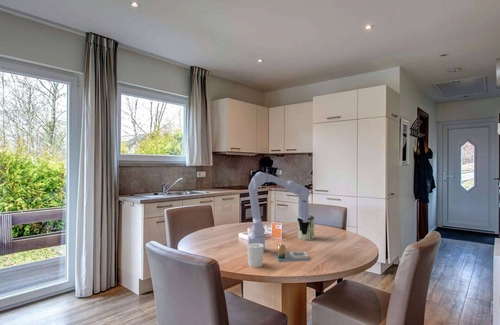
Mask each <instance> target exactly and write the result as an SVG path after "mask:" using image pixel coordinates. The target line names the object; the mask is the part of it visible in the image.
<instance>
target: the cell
mask: <svg viewBox="0 0 500 325" xmlns="http://www.w3.org/2000/svg"><path fill="white" fill-rule="evenodd" d="M276 247H277V249H276V250H277V252H276V253H277V258H279V259H284V258H285V253H286V245H285V244H283V243H282V244H281V243H280V244H277V246H276Z"/></svg>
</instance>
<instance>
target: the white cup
mask: <svg viewBox="0 0 500 325" xmlns="http://www.w3.org/2000/svg"><path fill="white" fill-rule="evenodd" d="M246 249H247V250H246V251H247V262H248V266H249V267H251V268H259V267H262V266H264V252H265V251H264V245H263V244H260V243H251V244H248V243H247V245H246Z"/></svg>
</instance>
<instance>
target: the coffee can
mask: <svg viewBox="0 0 500 325" xmlns="http://www.w3.org/2000/svg"><path fill="white" fill-rule="evenodd" d="M310 216H311V218H308V219H307V222H310V224H309V226H308V229H307V234H306V235H303V234H302V231H300V226H299V222H298V221H297V239H298V240H301V241H313V240H314V239H315V222H314V220H315V216H313V215H310Z"/></svg>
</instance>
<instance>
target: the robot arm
mask: <svg viewBox="0 0 500 325" xmlns="http://www.w3.org/2000/svg"><path fill="white" fill-rule="evenodd" d="M265 183H274V184H277V185H279V186H281V187H284V189H285V190H286V191H287V192H290V193H291V194H294V195H295V196H296V195H297V196H298V199H297V219H296V220H297V223H298V222H299V226H300V231H302V234H303V235H306V234H307V229H308V226H309V224H310V222H307V219H308V218H311V216H312V215H310V214H309V196H310V194H311V192H310V190H309V189H308V187H305V186H303V185H302V184H298V183H296V182H295V181H294V180H288V181H286V180H284V179H281V178H280V177H278V176H275V175H273V174H271V173H270V174H269V173H267V172H262V171H258V172H256V173H255V174H254V175H253V176H252V178H251V180H250V183H249V184H248V193H249V194H248V195H249V202H250V209H251V214H252V226H251V227H252V233H251V235H248V236H247V245H248V244H251V243H260V244H263V245H264V252H265V251H266V236H265V235H266V234H265V232H266V230H265V227H264V225H263V222H262V216H261V209H260V202H259V195H258V194H259V193H258V190H259V189H260V187H261V186H263V185H264V184H265Z"/></svg>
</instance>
